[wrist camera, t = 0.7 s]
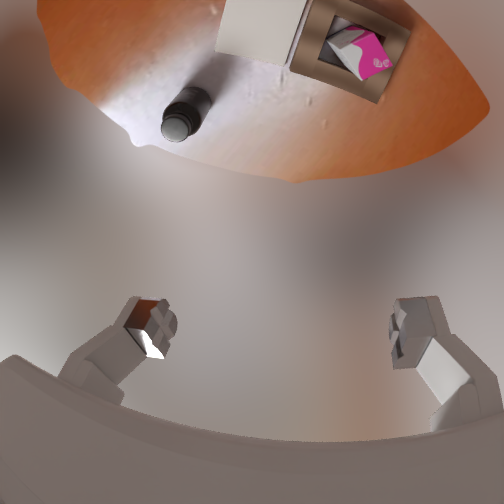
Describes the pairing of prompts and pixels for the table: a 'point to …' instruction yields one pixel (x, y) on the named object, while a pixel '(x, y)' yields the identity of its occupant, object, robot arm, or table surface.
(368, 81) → the walnut holder
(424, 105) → the table surface
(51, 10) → the table surface
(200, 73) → the table surface
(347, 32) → the supplement box
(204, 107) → the supplement bottle
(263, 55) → the white rectangular plate
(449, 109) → the table surface
